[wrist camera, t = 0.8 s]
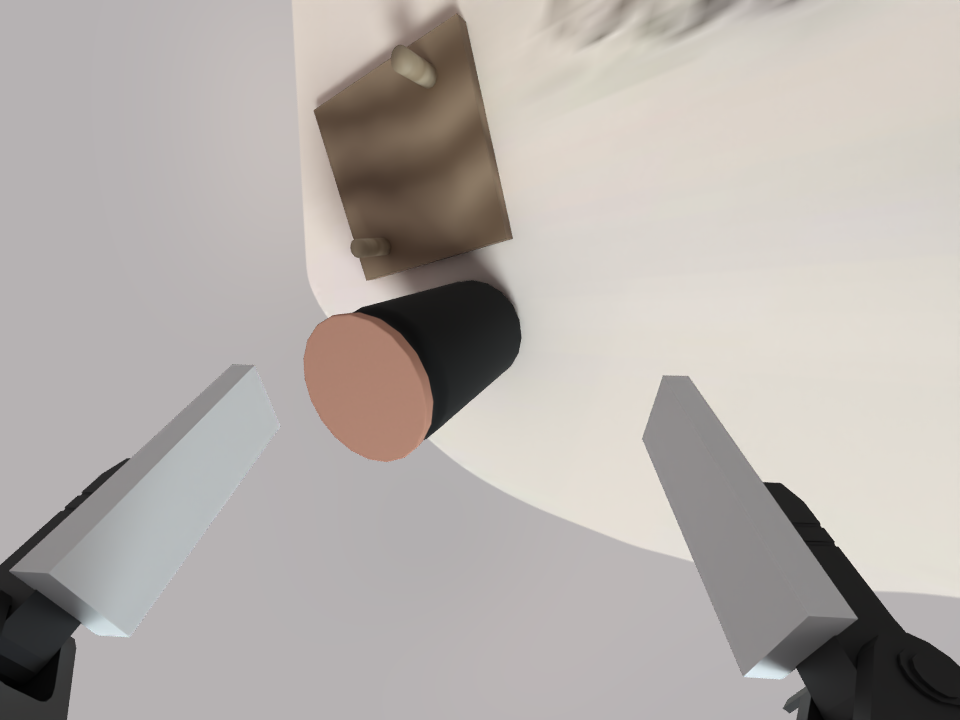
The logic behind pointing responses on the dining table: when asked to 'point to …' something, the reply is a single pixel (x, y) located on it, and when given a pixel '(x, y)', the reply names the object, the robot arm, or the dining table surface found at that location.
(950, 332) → the dining table surface
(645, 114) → the dining table surface
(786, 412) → the dining table surface
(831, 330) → the dining table surface
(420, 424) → the coffee jar
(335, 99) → the pegged base plate
